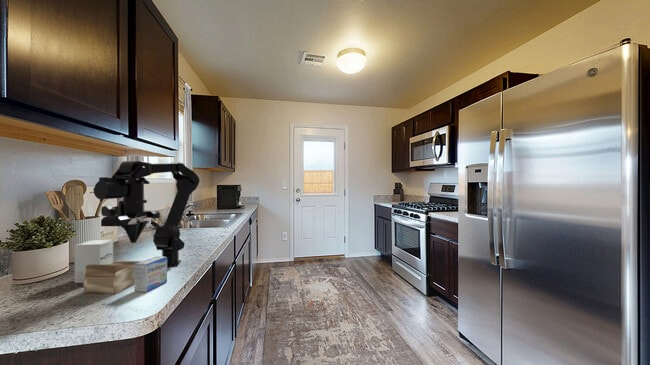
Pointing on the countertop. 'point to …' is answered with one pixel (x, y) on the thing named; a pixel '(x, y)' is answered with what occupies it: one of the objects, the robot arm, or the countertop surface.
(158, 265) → the medicine box
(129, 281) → the birch box
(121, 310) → the countertop surface
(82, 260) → the supplement box
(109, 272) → the lid
